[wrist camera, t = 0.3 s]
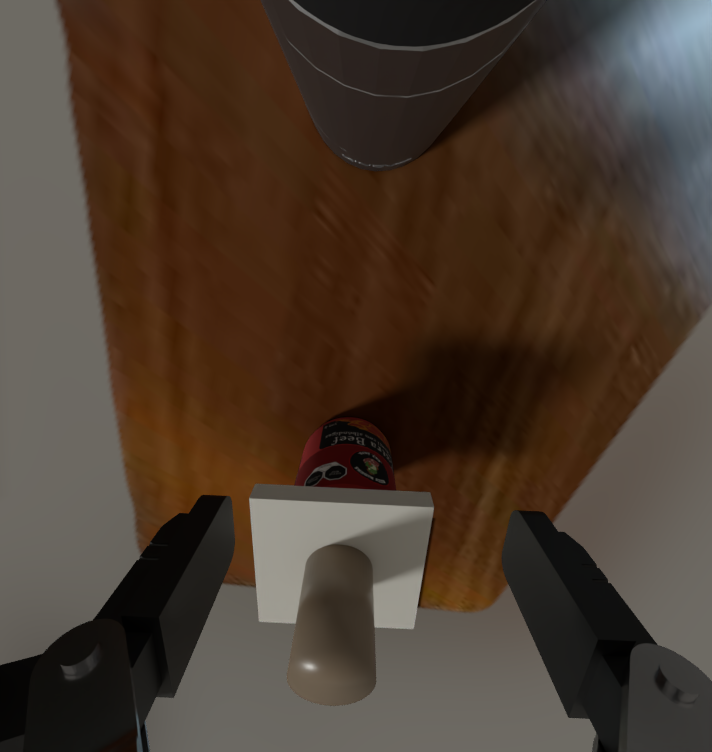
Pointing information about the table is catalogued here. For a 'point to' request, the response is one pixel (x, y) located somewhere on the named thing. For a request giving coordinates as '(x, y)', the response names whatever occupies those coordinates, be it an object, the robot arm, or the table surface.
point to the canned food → (347, 457)
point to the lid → (337, 578)
